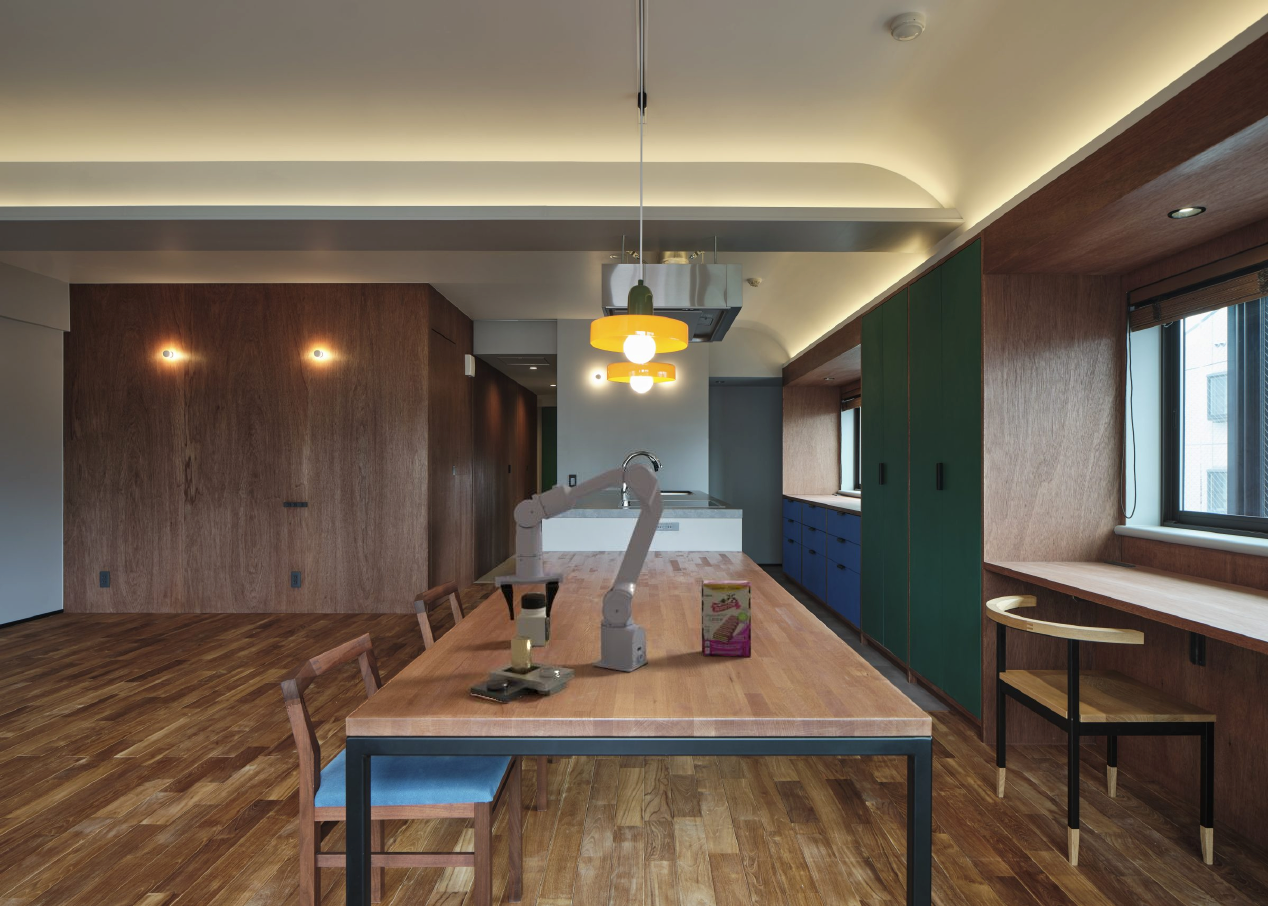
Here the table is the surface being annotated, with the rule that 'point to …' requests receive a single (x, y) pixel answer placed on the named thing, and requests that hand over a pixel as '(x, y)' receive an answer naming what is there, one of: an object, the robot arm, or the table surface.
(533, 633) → the medicine bottle
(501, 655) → the table surface
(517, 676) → the grey square hole plate
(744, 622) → the candy bar box
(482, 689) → the black base board
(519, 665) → the brass pin
